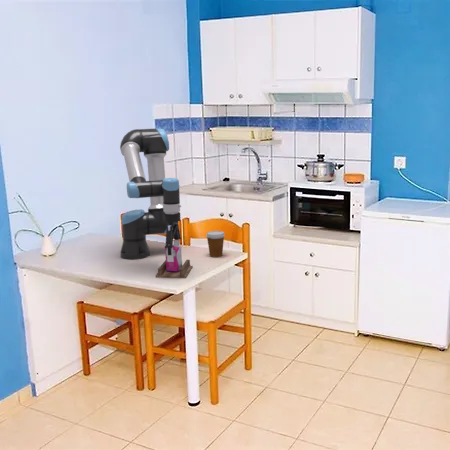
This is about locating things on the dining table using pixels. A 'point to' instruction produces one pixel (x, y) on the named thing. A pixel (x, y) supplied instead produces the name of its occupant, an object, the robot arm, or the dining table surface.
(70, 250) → the dining table surface
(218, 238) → the disposable coffee cup
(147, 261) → the dining table surface
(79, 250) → the dining table surface
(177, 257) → the supplement box
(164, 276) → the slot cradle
